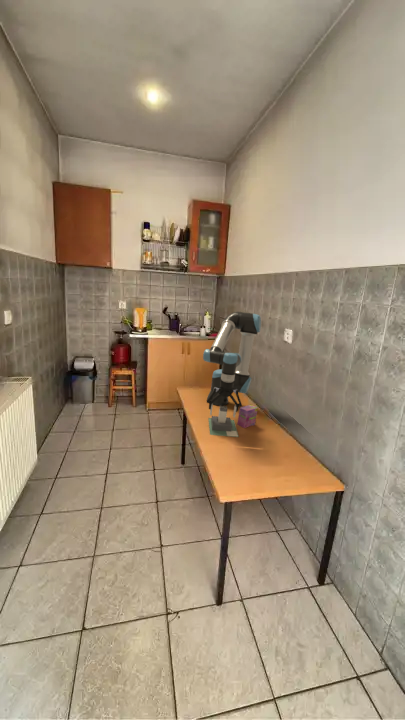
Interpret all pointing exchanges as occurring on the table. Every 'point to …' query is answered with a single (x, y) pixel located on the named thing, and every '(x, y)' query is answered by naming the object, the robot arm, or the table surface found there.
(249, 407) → the box
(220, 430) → the board
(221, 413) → the plug
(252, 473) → the table surface
